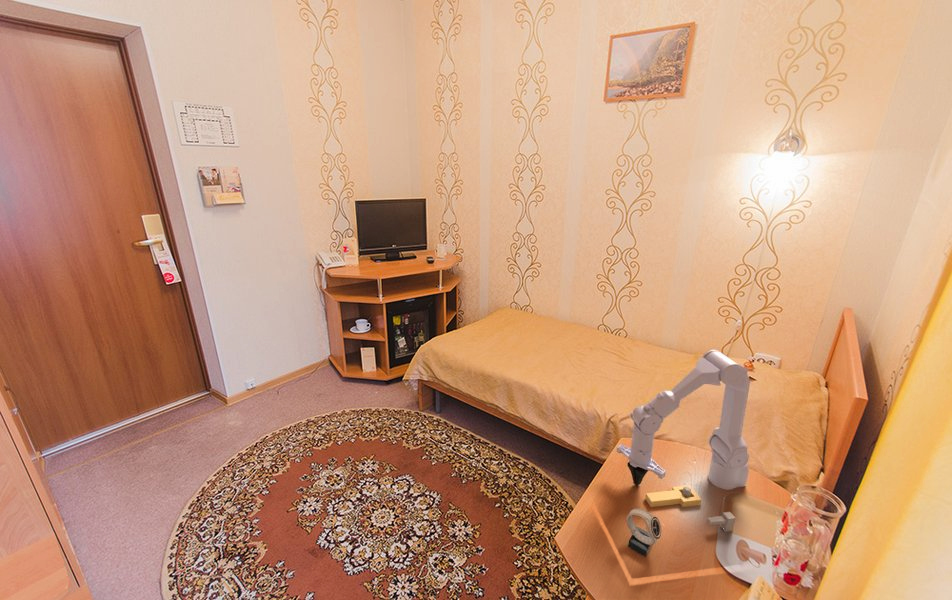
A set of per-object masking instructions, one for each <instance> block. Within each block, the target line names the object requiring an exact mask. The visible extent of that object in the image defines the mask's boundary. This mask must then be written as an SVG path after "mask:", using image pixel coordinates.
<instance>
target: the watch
mask: <svg viewBox="0 0 952 600" xmlns="http://www.w3.org/2000/svg"><path fill="white" fill-rule="evenodd" d="M633 516H639V517H640V518H643V519H644V524H645V527H646V530H645V529H644V528H641V527H639V526H638V525H636V523H635V521H634V518H633ZM626 525H627V528H628V530H629V532H630V533H631V536H630V538H629V540H628V545H627V547H628V548H629V549H631V550H633V551H634V552H636V553H638V554H639V555H641V556H643V557H647V555H648V553H649V551H650V549H651V547H652V545H655V544H656V543H657V541H658V540H659V539H660V538H661V536H662V525H661V522H660V520H659V518H658V517H657V516H655V515H654V514H653V513H651V512H649V511H647V510H645V509H642V508H637V507H636V508H633V509H631V510H630V512H629V513H628V514H627V516H626Z"/></svg>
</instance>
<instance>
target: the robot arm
mask: <svg viewBox="0 0 952 600" xmlns="http://www.w3.org/2000/svg"><path fill="white" fill-rule="evenodd" d="M748 371H749V370H748V369H747V368H746V367H744V366H743V365H741V364H739V363H737V362H735V361H734V360H732V359H731V358H730V357H729V356H727V355H726V354H724V353H723V352H721V351H720V350H717V349H711V350H708V351H706V352H705V353H704V354H703V355H702V356H701V357H699V358H698V359H697V362H696V363H695V367H694V368H693V369H692V370H691V371H690V372H689V373H688V374H687V375H686V376H684V377H683V378H682V379H681V380H680V381H679V382H678V383H677V384H676V385H675V386H674V387H673V388H672V389H671V390H667V389H666V390H662V391H661V392H659V393H657V394H656V396H655V397H654V398H652V399H651V400H650V401H649V402H647V403H646V404H645V405H639V406H637V407H635V408H634V409H633V411H632V412H631V413H630V418H631V419H632V421H633V428H632V435H631V444H630V447H628V446H625V445H623V444H619V445H617V447H616V453H618V454H622V455H624V456H625V457H626V459H627V460H629V461H628V462H627V465H626V466H627V467H628V470H629V471H630V473H631V478H632V483H633V484H634V485H635V486H637V487H638V486H639V485H641V484H642V482H643V479H644V477H645V476H646V474H647V473H648V472H652V473H654V475H657V478H658V479H660V480H662V479H664V477H666V473H667V471H666V470H665V469H663V468H662V467H661V466H660V465H659V464H658V463H657V462H656V461H655V460H654V459H653V458H652V455H653V448H654V447H653V446H654V441H655V434H656V432H658V431H659V430H660V428H661V426H662V424H663V423H664V419H666V418H667V417H669V416H670V415H671V414H672V413H674V412H676V410H677V409H679V408H680V404H681V400H683V399H684V398H686V397H687V396H689V395H691V394H692V393H693V392H695V391H696V390H698V389H700V388H701V387H702V386H704V385H712V386H719V387H720V386H721V383H723V384H724V385H725V387H724V392H723V393H724V394H723V400H722V407H721V413H720V422H719V426H717V427H715V428H713V430H712V434H711V436H710V437H709V438H708V445H709V447H711V453H712V454H711V459H710V462H709V463H710V464H709V468H708V469H709V470H708V474H707V478H708V480H709V482H710V483H711V484H712V485H714V486H715V487H716V488H719V489H722V490H727V491H730V490H734V489H736V488H742V487H746V485H747V481H748V477H749V470H750V469H749V466H748V463H749V460H750V456H749V453H748V445H747V443H746V441H745V439H744V437H743V434H742V433H743V429H744V422H745V416H746V410H747V404H748V398H749V391H750V386H751V379H750V377H749V375H748Z"/></svg>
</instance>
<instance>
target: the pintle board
mask: <svg viewBox="0 0 952 600" xmlns="http://www.w3.org/2000/svg"><path fill="white" fill-rule="evenodd" d="M682 495H683V496H684V497H685V498H688V497H690V495H691V489H690V488H689V487H684V488H683V493H682ZM706 521H707V522H708V523H709V525H710V526H715V525H716V526H717V525H719V526H720V525H721V526H722V527H723V528H724V530H725V531H727V532H726V533H728V532H733V530H734V527H735V522H736V516H734V515H733V513H732V512H731V511H726V512H722V515H717V516H709V517H707V519H706ZM721 526H720V527H721ZM722 527H721V528H722ZM724 530H723V531H724ZM725 531H724V532H725Z"/></svg>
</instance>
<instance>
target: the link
mask: <svg viewBox="0 0 952 600" xmlns="http://www.w3.org/2000/svg"><path fill="white" fill-rule="evenodd" d="M684 487H689V488H690V489H691V495H690V497H688V498H685V497H684V496H683V495H682V493H683V488H684ZM644 499H645V501H646V502H647V503H648V506H649V507H650V508H657V507H663V506H672V505H674V506H675V505H681V507H682V508H688V507H696V506H701V503H702V498H701V497H700V496H699V495H698V494H697V493H696V491H695V490H694V488H693V487H692V486H691V485H690V484H688V485H686V484H685V485H679V486H672V487H671V490H665V491H654V492H646V493H645V498H644Z"/></svg>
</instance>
